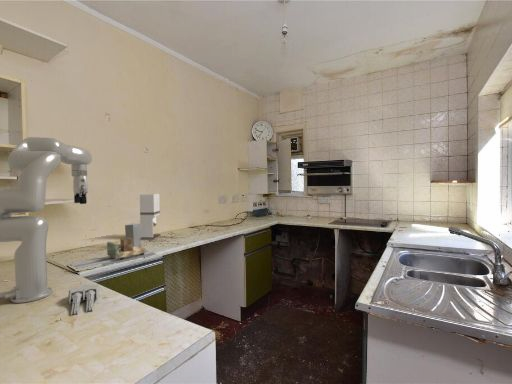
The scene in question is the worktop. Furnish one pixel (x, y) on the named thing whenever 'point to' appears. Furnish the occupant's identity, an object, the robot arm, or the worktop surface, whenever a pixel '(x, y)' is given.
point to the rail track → (109, 260)
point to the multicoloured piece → (117, 253)
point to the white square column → (149, 215)
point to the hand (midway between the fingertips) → (80, 203)
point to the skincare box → (133, 233)
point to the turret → (83, 297)
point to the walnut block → (126, 244)
